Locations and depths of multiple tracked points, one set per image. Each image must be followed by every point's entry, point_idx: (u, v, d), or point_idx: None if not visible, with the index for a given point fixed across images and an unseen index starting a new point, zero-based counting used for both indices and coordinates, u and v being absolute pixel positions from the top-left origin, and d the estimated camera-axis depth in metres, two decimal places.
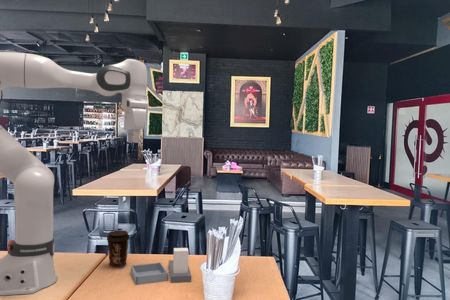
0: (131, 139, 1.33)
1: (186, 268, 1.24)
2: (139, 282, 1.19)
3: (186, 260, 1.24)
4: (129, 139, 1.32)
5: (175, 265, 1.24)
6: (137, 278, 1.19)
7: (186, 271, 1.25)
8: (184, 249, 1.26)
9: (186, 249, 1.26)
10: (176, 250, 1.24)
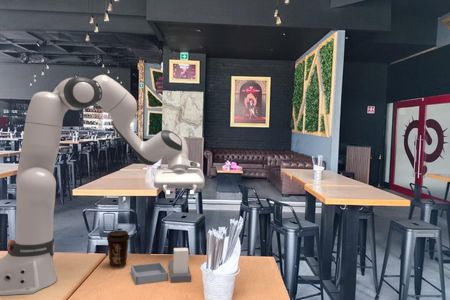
0: None
1: (186, 268, 1.24)
2: (139, 282, 1.19)
3: (186, 260, 1.24)
4: (169, 192, 1.37)
5: (175, 265, 1.24)
6: (137, 278, 1.19)
7: (186, 271, 1.25)
8: (184, 249, 1.26)
9: (186, 249, 1.26)
10: (176, 250, 1.24)
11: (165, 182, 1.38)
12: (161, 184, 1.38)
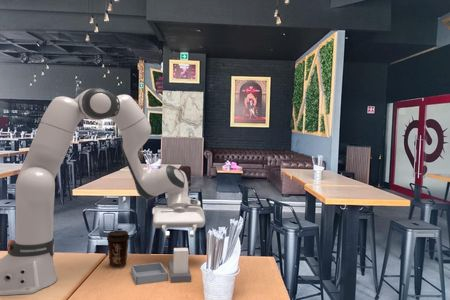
0: (168, 234, 1.33)
1: (186, 268, 1.24)
2: (139, 282, 1.19)
3: (186, 260, 1.24)
4: (168, 233, 1.32)
5: (175, 265, 1.24)
6: (137, 278, 1.19)
7: (186, 271, 1.25)
8: (184, 249, 1.26)
9: (186, 249, 1.26)
10: (176, 250, 1.24)
11: (164, 222, 1.34)
12: (160, 224, 1.34)
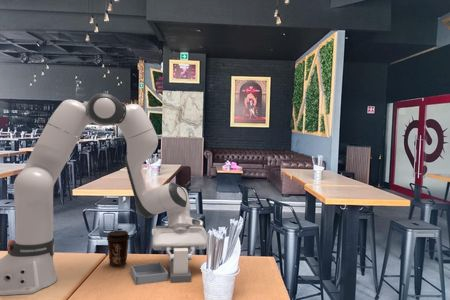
0: (173, 257, 1.25)
1: (186, 268, 1.24)
2: (139, 282, 1.19)
3: (186, 260, 1.24)
4: (173, 256, 1.25)
5: (175, 265, 1.24)
6: (137, 278, 1.19)
7: (186, 271, 1.25)
8: (184, 249, 1.26)
9: (186, 249, 1.26)
10: (176, 250, 1.24)
11: (165, 244, 1.26)
12: (160, 246, 1.26)
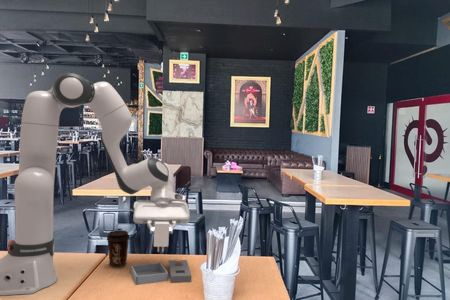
0: None
1: (166, 241, 1.24)
2: (139, 282, 1.19)
3: (167, 233, 1.24)
4: None
5: (155, 238, 1.23)
6: (137, 278, 1.19)
7: (166, 244, 1.24)
8: (165, 222, 1.25)
9: (167, 222, 1.25)
10: (157, 223, 1.24)
11: (146, 217, 1.25)
12: (141, 219, 1.25)
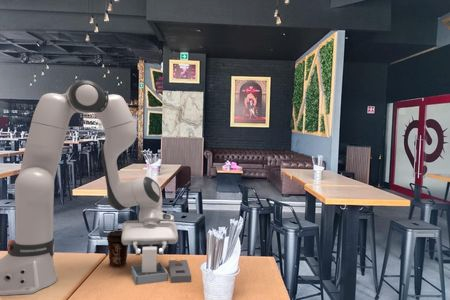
0: None
1: (154, 267, 1.24)
2: (139, 282, 1.19)
3: (154, 259, 1.24)
4: None
5: (143, 264, 1.23)
6: (137, 278, 1.19)
7: (154, 270, 1.24)
8: (153, 248, 1.26)
9: (155, 248, 1.26)
10: (144, 249, 1.24)
11: (134, 239, 1.26)
12: (129, 241, 1.26)
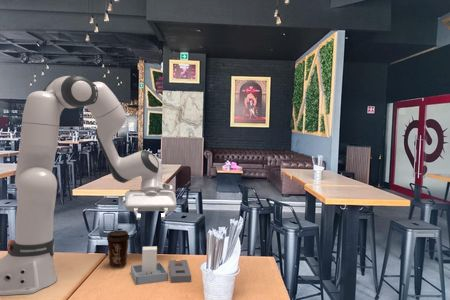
0: None
1: (154, 267, 1.24)
2: (139, 282, 1.19)
3: (154, 259, 1.24)
4: None
5: (143, 264, 1.23)
6: (137, 278, 1.19)
7: (154, 270, 1.24)
8: (153, 248, 1.26)
9: (155, 248, 1.26)
10: (144, 249, 1.24)
11: (136, 205, 1.38)
12: (132, 207, 1.38)
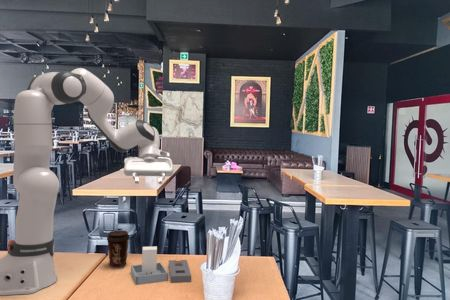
0: (138, 180, 1.44)
1: (154, 267, 1.24)
2: (139, 282, 1.19)
3: (154, 259, 1.24)
4: (138, 179, 1.43)
5: (143, 264, 1.23)
6: (137, 278, 1.19)
7: (154, 270, 1.24)
8: (153, 248, 1.26)
9: (155, 248, 1.26)
10: (144, 249, 1.24)
11: (135, 170, 1.45)
12: (131, 172, 1.45)
